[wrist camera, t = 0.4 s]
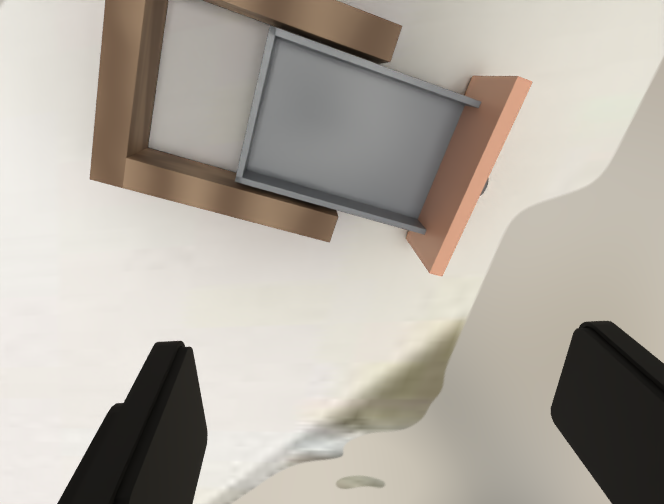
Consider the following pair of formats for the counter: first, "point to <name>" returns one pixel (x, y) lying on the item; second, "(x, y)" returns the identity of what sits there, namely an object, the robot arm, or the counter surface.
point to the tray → (375, 140)
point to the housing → (139, 93)
